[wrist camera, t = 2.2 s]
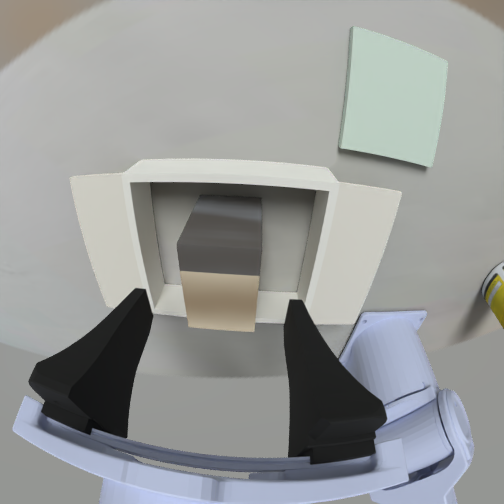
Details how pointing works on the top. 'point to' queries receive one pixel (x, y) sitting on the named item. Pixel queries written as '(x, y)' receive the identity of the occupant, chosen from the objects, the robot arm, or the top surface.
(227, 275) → the block
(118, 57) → the top surface
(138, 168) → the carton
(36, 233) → the top surface
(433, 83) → the tile
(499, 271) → the supplement bottle
